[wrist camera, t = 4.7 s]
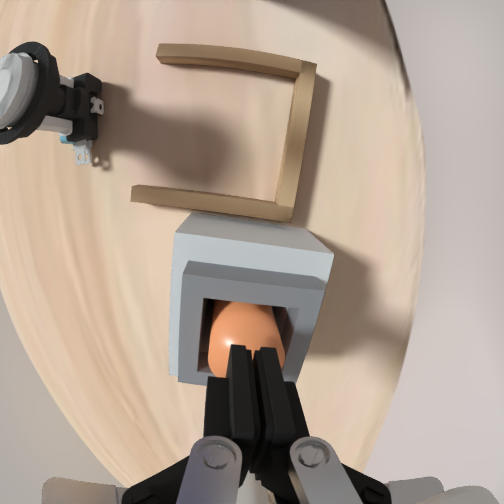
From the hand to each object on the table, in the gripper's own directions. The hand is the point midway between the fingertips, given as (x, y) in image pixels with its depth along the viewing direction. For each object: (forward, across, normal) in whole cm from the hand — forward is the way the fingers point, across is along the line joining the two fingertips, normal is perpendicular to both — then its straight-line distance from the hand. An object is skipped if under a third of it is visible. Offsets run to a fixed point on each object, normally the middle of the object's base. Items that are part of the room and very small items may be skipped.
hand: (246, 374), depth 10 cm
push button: (+11, +13, -10) cm, 20 cm away
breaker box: (+11, 0, +1) cm, 11 cm away
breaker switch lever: (+10, 0, +1) cm, 10 cm away
